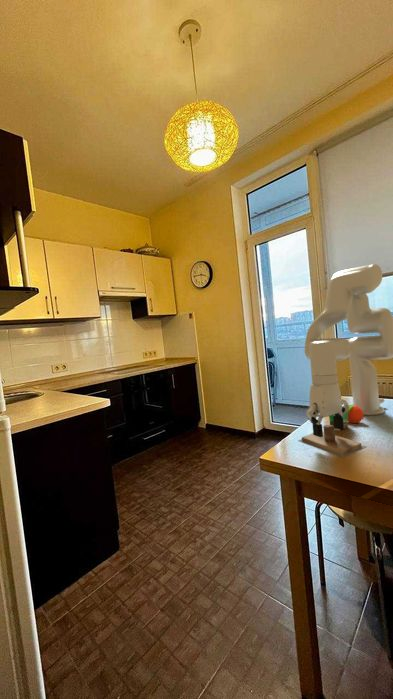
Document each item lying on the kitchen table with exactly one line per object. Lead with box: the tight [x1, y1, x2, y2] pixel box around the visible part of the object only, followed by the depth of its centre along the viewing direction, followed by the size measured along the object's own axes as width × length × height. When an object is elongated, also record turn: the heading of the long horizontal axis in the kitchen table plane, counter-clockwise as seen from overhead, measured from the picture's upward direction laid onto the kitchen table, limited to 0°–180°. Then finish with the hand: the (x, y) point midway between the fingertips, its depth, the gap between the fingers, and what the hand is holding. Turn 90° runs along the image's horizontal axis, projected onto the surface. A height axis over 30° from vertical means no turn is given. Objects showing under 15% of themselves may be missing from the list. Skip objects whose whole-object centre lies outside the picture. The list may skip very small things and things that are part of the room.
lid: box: [301, 424, 362, 455], centre depth 93 cm, size 9×15×6 cm, turn 27°
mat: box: [297, 438, 367, 459], centre depth 93 cm, size 11×17×1 cm, turn 27°
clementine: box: [347, 404, 364, 424], centre depth 110 cm, size 8×7×7 cm
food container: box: [328, 398, 350, 432], centre depth 106 cm, size 12×6×10 cm, turn 148°
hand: (328, 432), depth 93 cm, fingers open, 9 cm apart
